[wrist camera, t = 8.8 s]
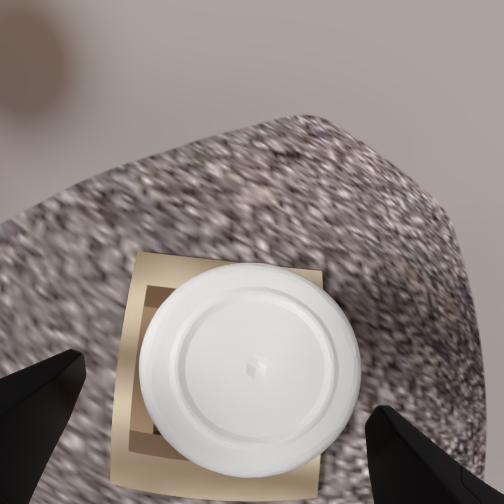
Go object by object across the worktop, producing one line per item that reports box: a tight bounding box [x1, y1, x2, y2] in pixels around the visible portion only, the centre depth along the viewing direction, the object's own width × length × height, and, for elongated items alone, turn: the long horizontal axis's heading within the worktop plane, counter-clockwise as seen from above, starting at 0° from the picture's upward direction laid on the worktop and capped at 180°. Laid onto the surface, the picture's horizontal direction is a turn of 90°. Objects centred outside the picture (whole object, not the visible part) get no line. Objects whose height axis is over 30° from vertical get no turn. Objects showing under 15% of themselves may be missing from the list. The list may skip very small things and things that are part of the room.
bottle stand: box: [110, 251, 323, 501], centre depth 16 cm, size 16×13×4 cm
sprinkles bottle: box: [139, 263, 361, 478], centre depth 11 cm, size 5×5×14 cm
